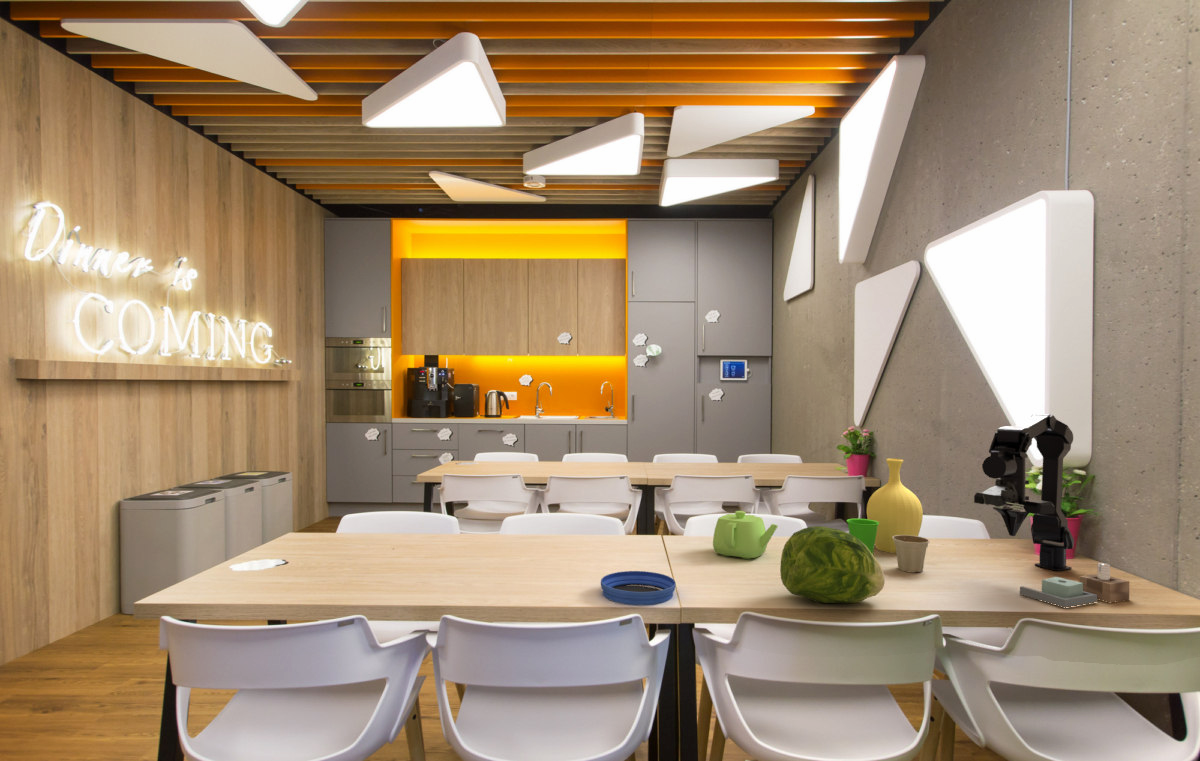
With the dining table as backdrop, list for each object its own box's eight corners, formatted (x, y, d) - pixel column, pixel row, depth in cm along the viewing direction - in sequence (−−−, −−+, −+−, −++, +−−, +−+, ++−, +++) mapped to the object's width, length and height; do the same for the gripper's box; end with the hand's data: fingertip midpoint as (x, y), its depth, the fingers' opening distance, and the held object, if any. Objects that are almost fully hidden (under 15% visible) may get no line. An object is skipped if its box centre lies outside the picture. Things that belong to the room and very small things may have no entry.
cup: (878, 556, 202) (878, 519, 202) (880, 564, 193) (880, 525, 193) (845, 554, 205) (846, 517, 205) (846, 561, 196) (846, 523, 196)
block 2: (1098, 591, 168) (1098, 573, 168) (1129, 600, 162) (1129, 581, 162) (1079, 594, 166) (1079, 576, 166) (1110, 603, 159) (1110, 584, 159)
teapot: (787, 553, 205) (787, 510, 205) (765, 567, 188) (765, 521, 189) (729, 545, 215) (730, 504, 215) (704, 558, 198) (704, 513, 198)
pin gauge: (1101, 595, 165) (1101, 562, 165) (1112, 598, 163) (1112, 565, 163) (1095, 596, 164) (1095, 563, 164) (1105, 599, 162) (1105, 565, 162)
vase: (932, 556, 203) (932, 462, 203) (878, 555, 203) (878, 462, 203) (908, 543, 219) (909, 456, 219) (858, 543, 219) (859, 456, 219)
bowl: (653, 612, 151) (654, 596, 151) (586, 598, 161) (586, 583, 161) (687, 592, 167) (687, 577, 167) (624, 580, 176) (624, 566, 176)
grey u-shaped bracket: (1051, 590, 169) (1051, 582, 169) (1097, 603, 159) (1097, 594, 159) (1019, 594, 165) (1019, 586, 165) (1065, 608, 155) (1065, 599, 155)
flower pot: (933, 575, 182) (933, 543, 182) (896, 573, 183) (896, 541, 184) (924, 566, 191) (924, 535, 191) (888, 564, 193) (888, 534, 193)
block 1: (1055, 595, 166) (1055, 576, 166) (1082, 602, 160) (1082, 582, 160) (1041, 598, 163) (1041, 579, 163) (1068, 605, 158) (1068, 586, 158)
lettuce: (909, 580, 148) (885, 519, 163) (805, 562, 147) (791, 502, 162) (875, 631, 158) (855, 568, 173) (778, 614, 157) (767, 552, 172)
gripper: (958, 472, 182) (958, 530, 182) (1024, 482, 165) (1024, 546, 165) (988, 471, 186) (988, 527, 186) (1056, 480, 169) (1056, 542, 169)
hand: (1012, 535), depth 176 cm, fingers closed
